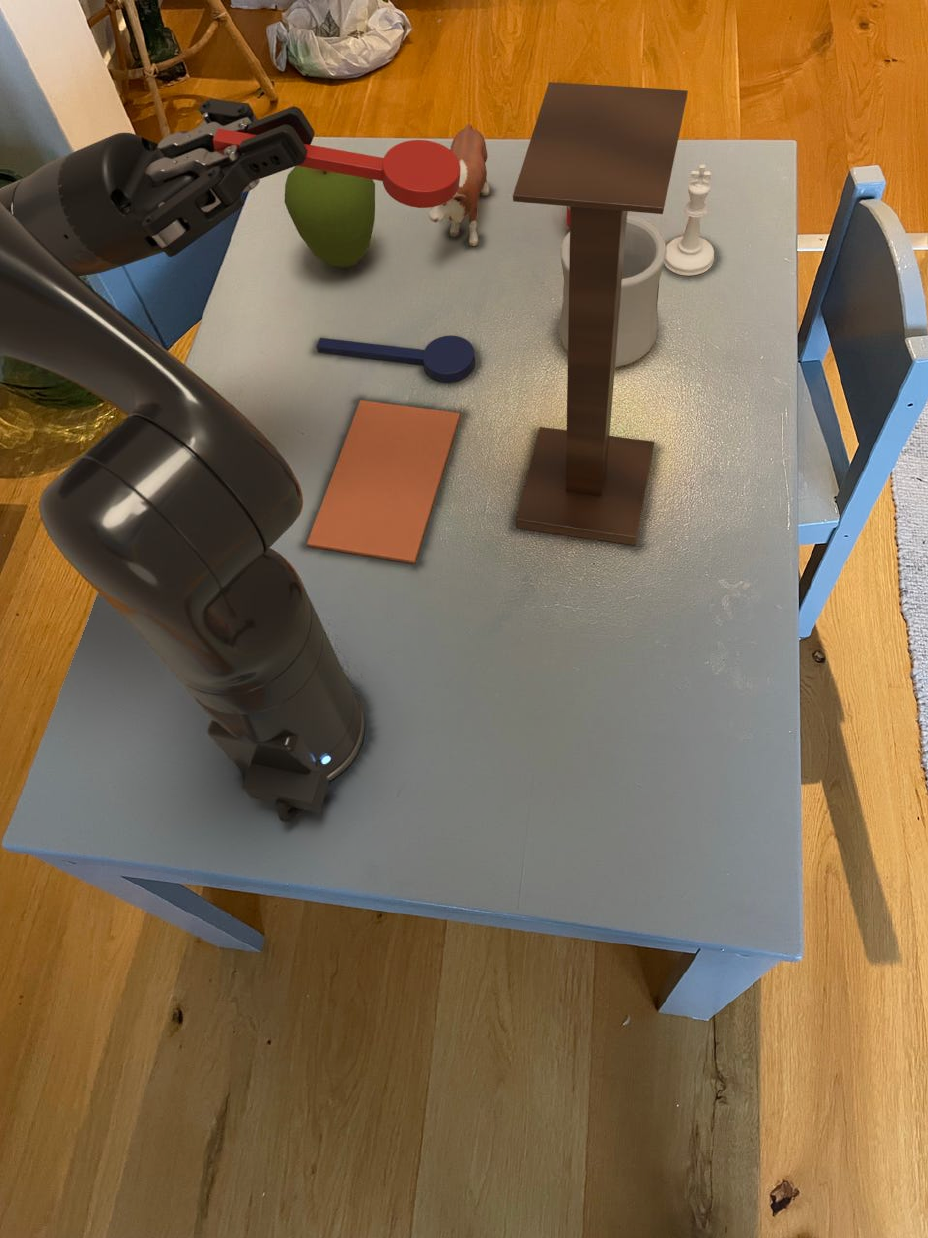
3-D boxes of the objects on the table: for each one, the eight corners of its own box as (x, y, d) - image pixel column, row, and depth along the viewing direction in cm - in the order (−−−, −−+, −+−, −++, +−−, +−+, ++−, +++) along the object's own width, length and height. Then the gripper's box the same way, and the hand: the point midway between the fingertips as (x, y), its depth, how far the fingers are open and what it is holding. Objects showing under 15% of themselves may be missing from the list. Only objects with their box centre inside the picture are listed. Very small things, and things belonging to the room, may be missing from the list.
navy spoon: (468, 385, 86) (467, 376, 85) (312, 366, 89) (309, 357, 88) (480, 347, 88) (479, 338, 87) (327, 329, 91) (324, 320, 90)
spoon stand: (635, 545, 76) (683, 209, 48) (516, 527, 78) (494, 193, 50) (653, 450, 80) (705, 90, 52) (539, 435, 82) (531, 80, 54)
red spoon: (452, 214, 57) (453, 197, 56) (205, 169, 57) (202, 152, 56) (465, 163, 59) (466, 146, 58) (228, 121, 59) (225, 103, 58)
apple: (318, 300, 93) (289, 200, 83) (294, 248, 97) (263, 147, 87) (399, 272, 94) (380, 169, 84) (372, 222, 98) (351, 118, 87)
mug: (674, 351, 86) (687, 263, 77) (584, 385, 85) (587, 299, 76) (614, 267, 91) (621, 177, 83) (529, 298, 90) (526, 209, 82)
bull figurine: (429, 266, 94) (418, 196, 87) (460, 179, 100) (453, 106, 92) (471, 271, 93) (464, 200, 86) (500, 182, 99) (496, 109, 92)
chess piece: (711, 277, 90) (728, 186, 81) (660, 273, 90) (671, 182, 82) (715, 242, 92) (732, 149, 83) (665, 239, 93) (676, 146, 84)
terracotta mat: (415, 563, 77) (414, 561, 77) (307, 546, 79) (306, 543, 78) (460, 415, 84) (460, 412, 84) (361, 402, 86) (360, 399, 86)
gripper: (19, 232, 58) (232, 149, 50) (96, 100, 65) (296, 8, 57) (105, 320, 64) (309, 258, 56) (168, 191, 70) (359, 118, 62)
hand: (302, 132), depth 56 cm, fingers closed on red spoon, 1 cm apart
